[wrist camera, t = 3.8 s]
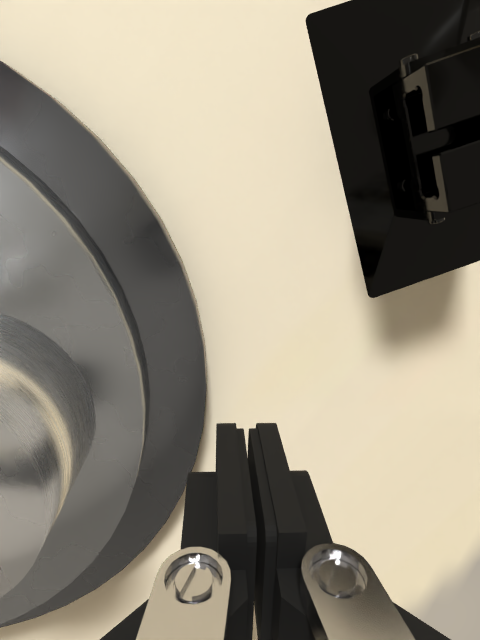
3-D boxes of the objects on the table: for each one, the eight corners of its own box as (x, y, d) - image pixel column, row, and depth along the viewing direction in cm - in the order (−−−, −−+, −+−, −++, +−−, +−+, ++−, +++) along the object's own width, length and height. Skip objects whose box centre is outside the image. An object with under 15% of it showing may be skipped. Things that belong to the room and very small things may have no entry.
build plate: (264, -24, 13) (289, -137, 8) (493, -107, 12) (641, -269, 8) (354, 333, 16) (404, 383, 12) (532, 276, 16) (650, 306, 12)
